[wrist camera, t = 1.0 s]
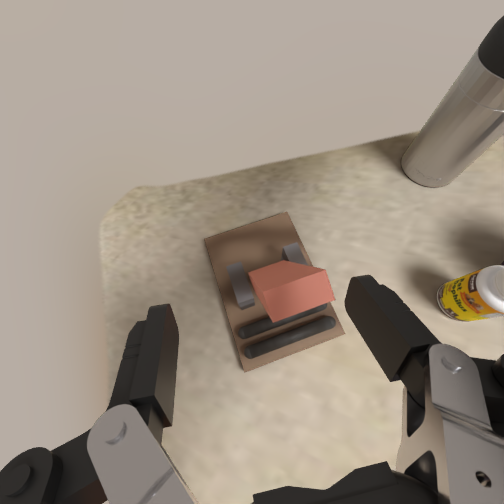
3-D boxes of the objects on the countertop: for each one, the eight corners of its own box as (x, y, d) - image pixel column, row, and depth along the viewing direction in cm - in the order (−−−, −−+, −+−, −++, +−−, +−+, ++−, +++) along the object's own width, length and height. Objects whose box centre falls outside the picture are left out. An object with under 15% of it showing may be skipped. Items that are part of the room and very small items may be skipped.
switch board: (342, 334, 34) (358, 330, 28) (245, 371, 32) (241, 375, 26) (286, 216, 41) (289, 192, 35) (206, 242, 40) (196, 223, 34)
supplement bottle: (430, 282, 36) (489, 256, 26) (470, 283, 35) (545, 257, 26) (439, 321, 34) (507, 308, 24) (482, 323, 33) (568, 311, 24)
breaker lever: (287, 276, 33) (335, 299, 18) (252, 288, 33) (273, 322, 18) (282, 259, 33) (325, 269, 18) (247, 271, 33) (262, 292, 18)
